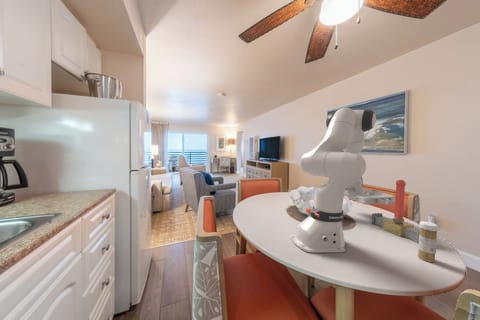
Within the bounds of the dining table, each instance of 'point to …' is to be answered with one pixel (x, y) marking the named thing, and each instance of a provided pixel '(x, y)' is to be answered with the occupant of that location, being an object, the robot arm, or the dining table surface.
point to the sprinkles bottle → (427, 241)
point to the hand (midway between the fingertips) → (390, 203)
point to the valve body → (396, 227)
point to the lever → (399, 201)
